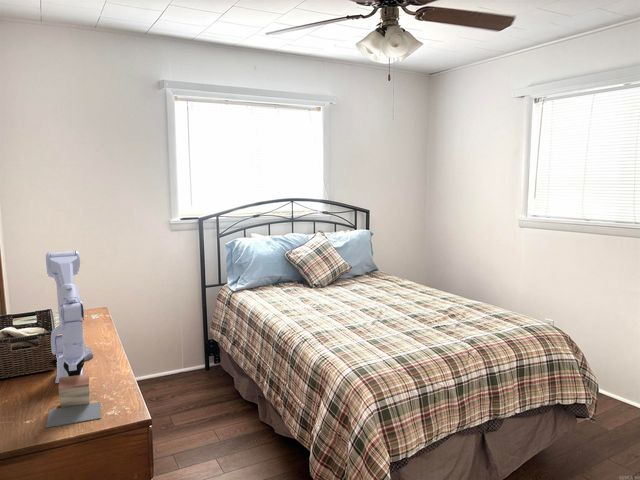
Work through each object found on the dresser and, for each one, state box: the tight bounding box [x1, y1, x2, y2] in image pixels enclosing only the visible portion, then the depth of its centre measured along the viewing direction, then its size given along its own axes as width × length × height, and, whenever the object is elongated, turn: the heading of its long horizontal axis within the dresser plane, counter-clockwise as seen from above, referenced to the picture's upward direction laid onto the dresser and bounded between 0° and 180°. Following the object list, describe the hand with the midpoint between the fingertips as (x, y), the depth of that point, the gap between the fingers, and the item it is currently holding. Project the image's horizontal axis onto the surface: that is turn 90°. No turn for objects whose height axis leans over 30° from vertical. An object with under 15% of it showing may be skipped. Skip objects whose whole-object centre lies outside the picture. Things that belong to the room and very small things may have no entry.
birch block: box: [58, 373, 91, 408], centre depth 145 cm, size 4×8×9 cm, turn 114°
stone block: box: [84, 343, 94, 362], centre depth 180 cm, size 12×5×10 cm
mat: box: [45, 401, 102, 429], centre depth 141 cm, size 10×14×1 cm
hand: (75, 383), depth 147 cm, fingers closed
